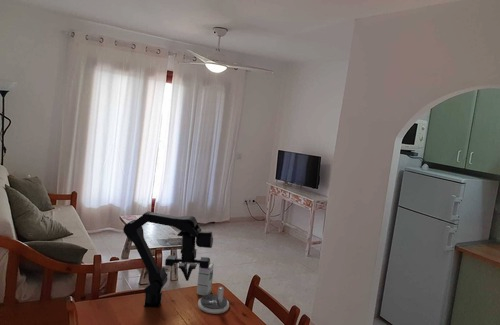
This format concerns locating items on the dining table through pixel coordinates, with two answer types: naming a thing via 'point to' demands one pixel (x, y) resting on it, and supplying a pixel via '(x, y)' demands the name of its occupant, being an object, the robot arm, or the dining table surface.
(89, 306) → the dining table surface
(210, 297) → the dial
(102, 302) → the dining table surface
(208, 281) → the syrup box
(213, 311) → the base
